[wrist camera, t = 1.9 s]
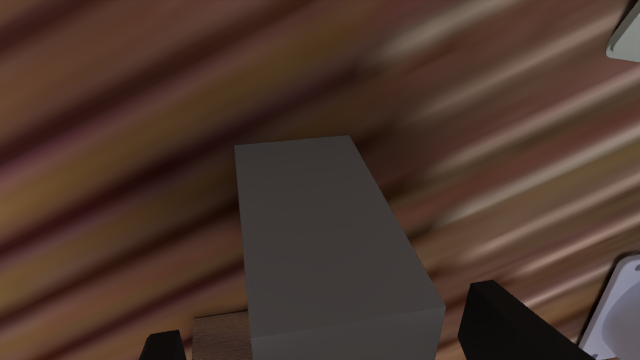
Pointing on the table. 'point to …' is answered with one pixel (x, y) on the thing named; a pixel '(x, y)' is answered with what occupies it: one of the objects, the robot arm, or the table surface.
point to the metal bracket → (626, 38)
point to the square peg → (328, 258)
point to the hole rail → (222, 337)
